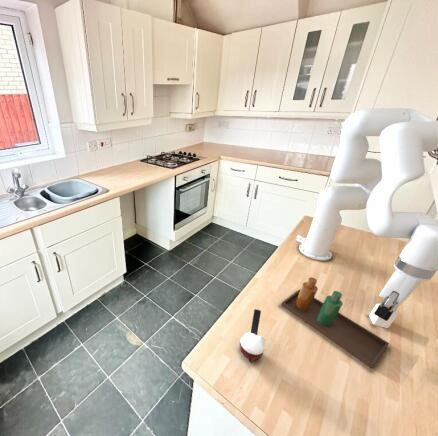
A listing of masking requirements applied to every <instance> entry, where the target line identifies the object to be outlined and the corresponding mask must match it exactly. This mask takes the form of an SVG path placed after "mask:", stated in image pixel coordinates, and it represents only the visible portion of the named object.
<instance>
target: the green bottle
mask: <svg viewBox="0 0 438 436" xmlns="http://www.w3.org/2000/svg"><path fill="white" fill-rule="evenodd" d="M342 297H343V293H342V292H340V291H338V290H334V291H333V292H332V293H331V295H327V296H325V299H324V300H323V302H322V303H323V305H322V307H321V309H320V311H319V313H318V315H317V320H318V322H319V323H321V324H322V325H324V326H331V325H332V324H333V322H334V320H335V318H336V316H337V314H338V313H340V311H341V309H342V307H343V305H344V303H343V301H342V300H341V299H342Z"/></svg>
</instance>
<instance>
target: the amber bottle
mask: <svg viewBox="0 0 438 436" xmlns="http://www.w3.org/2000/svg"><path fill="white" fill-rule="evenodd" d="M317 283H318V279H316V278H315V277H313V276H311V277H309V278H308V280H307V281H304V282H303V283H302V285H301V287H300V289H301V290H300V292H299V295H298V297H297V300H296V302H295V305H296V307H297V308H298V309H300V310H302V311H308V310H309V308H310V306H311V304H312V302H313V299H314V298H316V295H317V293H318V289H319V288H318V287H317Z"/></svg>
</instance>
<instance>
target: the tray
mask: <svg viewBox="0 0 438 436" xmlns="http://www.w3.org/2000/svg"><path fill="white" fill-rule="evenodd" d="M300 290H301V288H299V289H298V290H297V291H295V292H294V293H293V294H291V295H290V296H288V297H287V298H286V299H285V300H283V301H282V302H281V305H280V306H281V307H282V308H283V309H285V310H287V311H288V312H290V313H291V314H292V315H293V316H295V317H297V318H298V319H299V320H301V321H302V322H304V323H305V324H306V325H308V326H309V327H311V328H313V330H314V331H317V332H318V333H320V334H321V335H323V336H324V337H325V338H326V339H327V340H330V341H331V342H332V343H334V344H335V345H336V346H338V347H339V348H341V349H343V350H344V351H345V352H347V353H348V354H350V355H351V356H352V357H354V358H355V359H356V360H358V361H359V362H361V363H363V364H364V365H365V366H367V367H368V368H370V369H372V368H373V367H374V365H375V364H376V362H377V361H378V360H379V359H380V357H381V356H382V354H383V353H384V351H385V350H386V349H387V347H388V346H389V345H390V342H388V341H387V340H385V339H384V338H381V337H380V336H378V335H376V334H375V333H373V332H372V331H370V330H369V329H367V328H365V327H364V326H362V325H360V324H358V323H357V322H355V321H353V319H351V318H348V317H347V316H345V315H344V314H343V313H340V312H339V313H338V314H337V316H336V318H335V320H334V322H333V324H332V325H331V326H324V325H322V324H321V323H319V322H318V320H317V315H318V313H319V311H320V309H321V307H322V305H323V303H324V302H322V301H320V300H319V299H317V298H316V297H314V299H313V302H312V304H311V306H310V308H309V310H308V311H302V310H300V309H298V308H297V307H296V305H295V302H296V300H297V297H298V295H299V292H300Z"/></svg>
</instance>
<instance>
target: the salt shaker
mask: <svg viewBox="0 0 438 436" xmlns="http://www.w3.org/2000/svg"><path fill="white" fill-rule="evenodd" d="M395 302H397V301H396V300H395ZM380 304H381V303H376V304H375V305H374V307H373V308H372V310H371V312H370V313H369V316H368V317H369V319H370V321H371V323H372V325H375V326H377V327H382V328H387V329H388V328H390V326H391V325H392V324H393V322H394V320H395V319H396V318H397V312H396V311H397V309H398V308H399V306H397V305H396V307H395V308H394V310H393V311H394V312H393V313H392V315H391V316H390V318H389V319H388V320H387V321H385V320H384V319H382V318H380V317H378V316H376V315H375V314H374V313H375V311H376V309H377V308H378V306H379V305H380ZM393 305H394V304H392V305H391V306H393ZM397 307H398V308H397ZM396 308H397V309H396ZM395 310H396V311H395Z"/></svg>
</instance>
